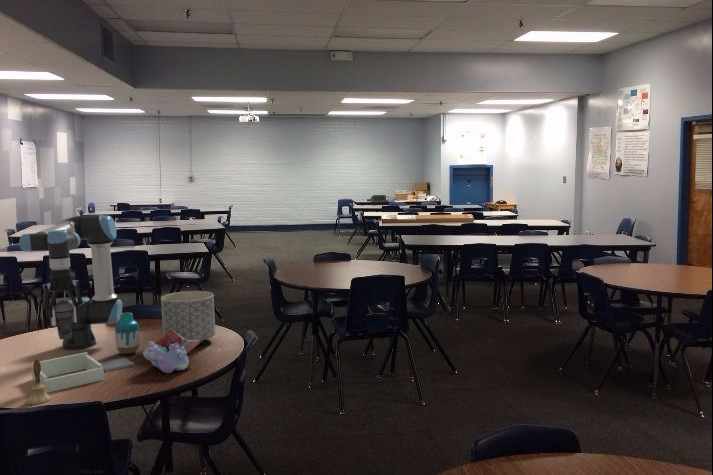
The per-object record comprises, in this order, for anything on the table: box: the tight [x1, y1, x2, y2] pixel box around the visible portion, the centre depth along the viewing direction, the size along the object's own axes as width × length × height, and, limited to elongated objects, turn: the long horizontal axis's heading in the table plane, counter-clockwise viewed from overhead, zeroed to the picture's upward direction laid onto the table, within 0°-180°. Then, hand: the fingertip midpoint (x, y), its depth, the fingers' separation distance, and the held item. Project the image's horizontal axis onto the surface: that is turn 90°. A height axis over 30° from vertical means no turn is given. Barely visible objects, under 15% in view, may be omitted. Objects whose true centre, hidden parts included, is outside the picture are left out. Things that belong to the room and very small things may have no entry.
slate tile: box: [99, 357, 135, 372], centre depth 265 cm, size 12×12×1 cm
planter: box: [160, 290, 216, 345], centre depth 297 cm, size 25×25×24 cm
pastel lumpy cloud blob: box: [142, 330, 203, 375], centre depth 260 cm, size 20×22×18 cm
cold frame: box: [30, 351, 105, 394], centre depth 247 cm, size 21×22×7 cm
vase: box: [115, 312, 141, 355], centre depth 282 cm, size 11×11×19 cm
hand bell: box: [25, 358, 52, 405], centre depth 224 cm, size 8×8×16 cm
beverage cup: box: [53, 291, 73, 341], centre depth 245 cm, size 7×7×20 cm
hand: (64, 323), depth 245 cm, fingers closed on beverage cup, 7 cm apart
